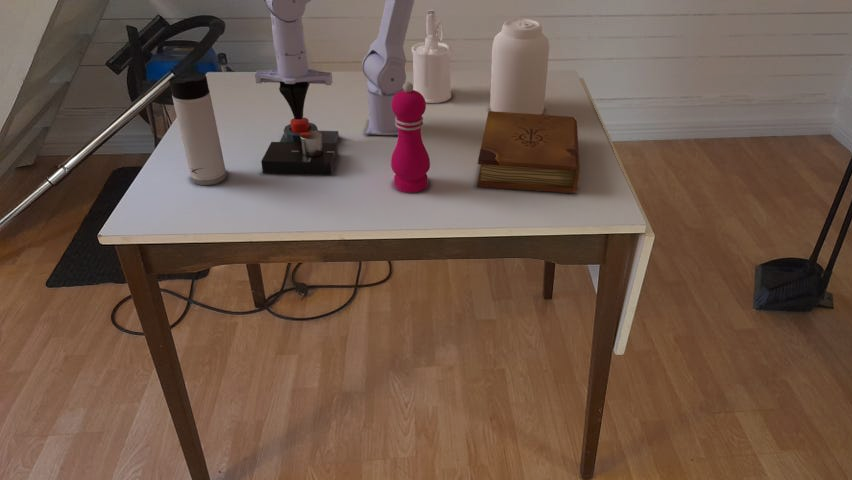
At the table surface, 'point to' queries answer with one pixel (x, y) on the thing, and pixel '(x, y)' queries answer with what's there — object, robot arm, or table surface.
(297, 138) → the button box
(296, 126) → the stop button
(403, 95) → the pepper mill
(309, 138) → the burner knob
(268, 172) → the panel
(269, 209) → the table surface
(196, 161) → the travel mug
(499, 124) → the diary
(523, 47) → the can
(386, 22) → the robot arm
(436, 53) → the white oil can
